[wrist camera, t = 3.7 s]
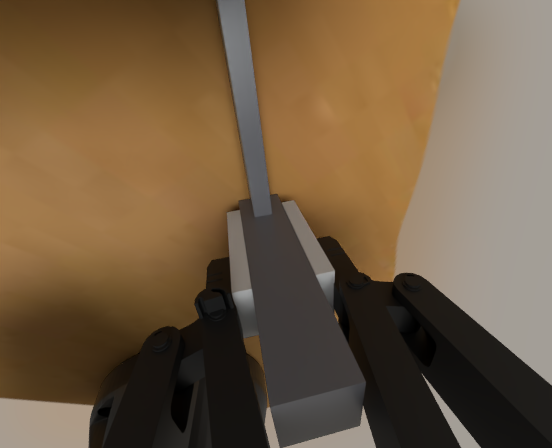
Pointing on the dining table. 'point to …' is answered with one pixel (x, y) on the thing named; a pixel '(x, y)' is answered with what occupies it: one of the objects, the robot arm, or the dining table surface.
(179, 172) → the dining table surface
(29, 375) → the dining table surface
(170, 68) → the dining table surface
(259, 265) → the l-shaped tool
